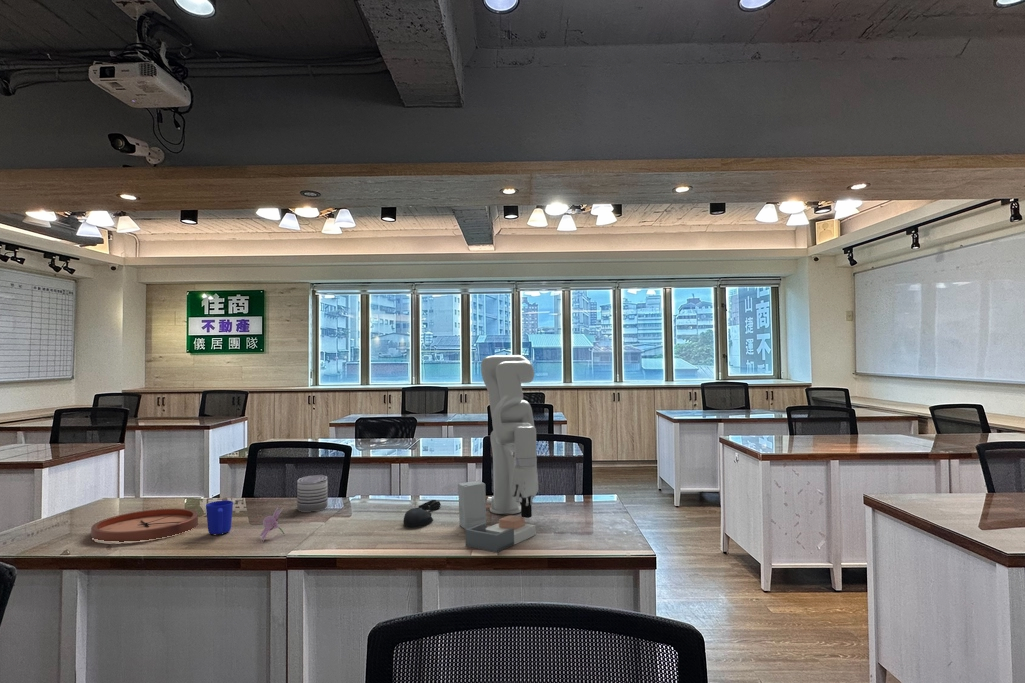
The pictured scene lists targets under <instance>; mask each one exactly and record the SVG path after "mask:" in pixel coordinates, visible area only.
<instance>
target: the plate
mask: <svg viewBox="0 0 1025 683" xmlns="http://www.w3.org/2000/svg"><path fill="white" fill-rule="evenodd" d="M536 528H537V525H536V524H530V523H525V526H522V527H520V528H518V529H515V530H514V545H516V544H519V543H521V542H523V541H525V540H527V539H529V538H532V537H534V536H536V535H537V529H536ZM505 530H508V529H507V528H501V527H499V522H498V523H495V524H493V525H490V526H487V527H486V533H491V534H498V533H501V532H503V531H505ZM514 545H513V546H514Z"/></svg>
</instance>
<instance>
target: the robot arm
mask: <svg viewBox="0 0 1025 683" xmlns="http://www.w3.org/2000/svg"><path fill="white" fill-rule="evenodd" d="M480 372H481V376H482V381H483V383H484V386H485V387H486V390H487V392H488V398H489V399H488V400H489V407H490V416H491V420H492V421H491V422H492V423H491V424H492V431H491V432H490V435H489V436H490V445H491V451H492V470H493V471H492V474H493V476H492V477H493V478H492V479H493V496H488V497H487V499H486V504H491V506H490V507H489V512H490V513H492V514H496V515H515V514H518V513H519V514H520V513H521V514H520V517H523V518H527V519H530V518H532V517H533V516H532V513H533V511H532V505H533V500H534V498H535V497H536V496H537V493H538V492H539V474H538V466H537V465H538V464H537V461H538V458H537V428H536V427H535V421H534V416H533V415H534V414H533V409H532V406H531V404H530V402H528V400H525V399H524V393H523V387H522V384H530V383H531V382H533V381H534V378H535V371H534V367H533V364H532V363H531V361H530V360H529V359H527V358H526V357H525V356H524V355H521V354H507V355H506V354H503V355H502V354H496V355H495V354H494V355H489V356H486V357H484V358H483V359H482V360H481V364H480ZM512 453H514V454H512Z"/></svg>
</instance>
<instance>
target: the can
mask: <svg viewBox="0 0 1025 683" xmlns="http://www.w3.org/2000/svg"><path fill="white" fill-rule="evenodd" d="M296 483H297V484H296V485H297V486H296V487H297V488H296V489H297V490H296V491H297V497H296V498H297V500H296V504H297V507H296V508H297V509H296V510H297V511H298V510H299V512H300V511H301V512H300V513H312V512H311V511H316V512H319V511H318V510H321V511H323V510H322V509H324V510H326V509H327V508H328V507H327V506H328V502H329V501H328V499H329V498H328V497H329V496H328V476H327V475H323V474H316V475H315V474H314V475H307V476H303V477H300V478H298V480H296ZM326 507H327V508H326ZM325 508H326V509H325Z"/></svg>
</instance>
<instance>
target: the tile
mask: <svg viewBox="0 0 1025 683" xmlns="http://www.w3.org/2000/svg"><path fill="white" fill-rule="evenodd" d="M525 520H526V519H525V517H521V516H517V515H512V514H508V515H507V516H506V515H505V516H504V517H501V518H499V519H498V523H499V527H501V528H507V529H510V528H514V530H515V529H518V528H520V527H522V526H525V524H526V521H525Z"/></svg>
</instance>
